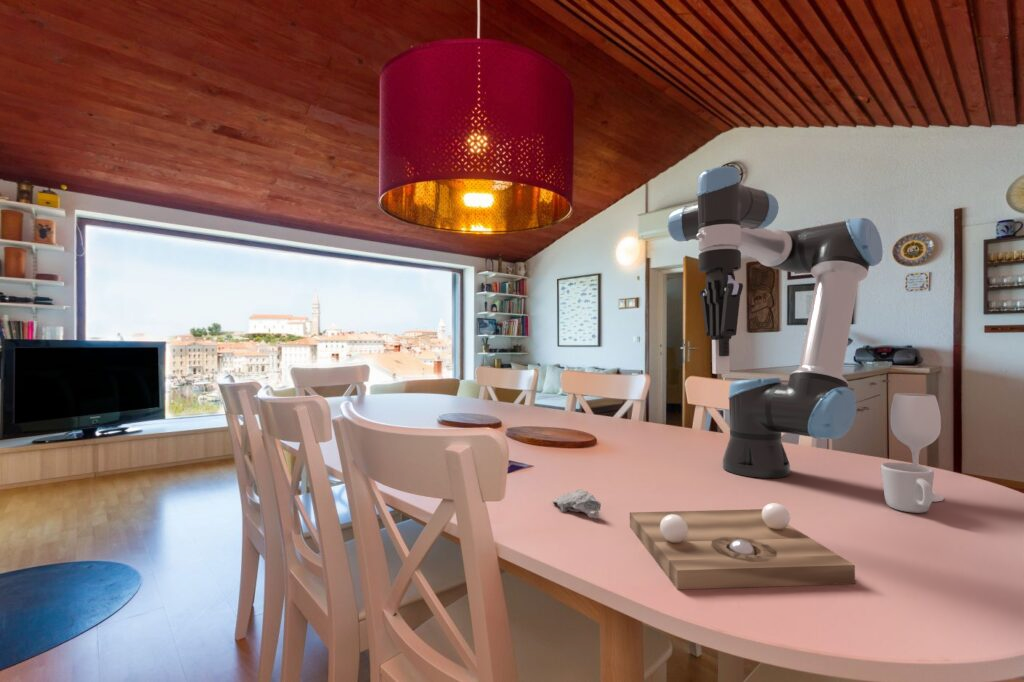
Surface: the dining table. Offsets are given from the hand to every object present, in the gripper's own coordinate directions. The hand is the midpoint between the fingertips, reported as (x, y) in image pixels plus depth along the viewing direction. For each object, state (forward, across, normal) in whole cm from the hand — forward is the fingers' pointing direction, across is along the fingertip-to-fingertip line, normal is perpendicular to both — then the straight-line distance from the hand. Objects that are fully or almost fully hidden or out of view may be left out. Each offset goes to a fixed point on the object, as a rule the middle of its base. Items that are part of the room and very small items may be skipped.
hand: (721, 373), depth 94 cm
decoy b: (+22, +20, -17) cm, 34 cm away
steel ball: (+25, +22, -8) cm, 34 cm away
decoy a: (+22, +16, +1) cm, 27 cm away
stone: (+27, -3, -28) cm, 39 cm away
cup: (+27, +3, +35) cm, 44 cm away
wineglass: (+27, -6, +44) cm, 52 cm away
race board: (+26, +18, -8) cm, 33 cm away
